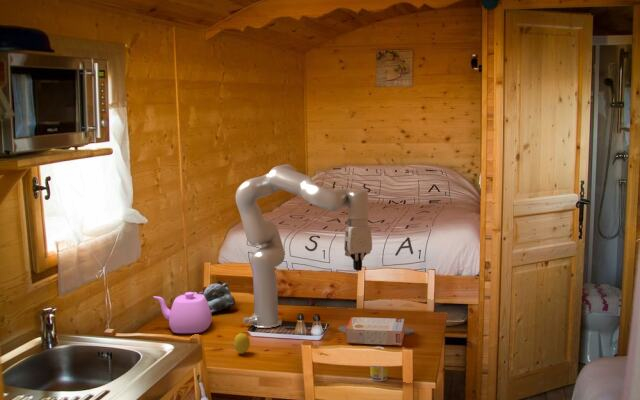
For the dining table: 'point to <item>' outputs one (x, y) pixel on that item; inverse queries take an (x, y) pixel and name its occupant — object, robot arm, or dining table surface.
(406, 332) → the slate mat
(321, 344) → the dining table surface
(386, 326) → the cracker box
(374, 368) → the supplement bottle
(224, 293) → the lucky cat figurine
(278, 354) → the dining table surface
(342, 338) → the dining table surface
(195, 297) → the teapot
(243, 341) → the lemon
